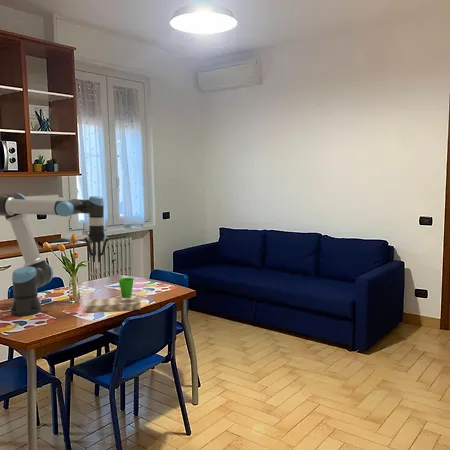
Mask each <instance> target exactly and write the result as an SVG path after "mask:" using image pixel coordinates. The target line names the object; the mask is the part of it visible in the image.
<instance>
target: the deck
mask: <svg viewBox="0 0 450 450" xmlns="http://www.w3.org/2000/svg"><path fill="white" fill-rule="evenodd" d="M125 302H128V303H125ZM141 307H142V306H141V296H139V297H137V296H136V297H131V298H122V297H120V298H118V297H116V298H98V299H88V301H87V305H86V312H87V313H101V312H115V311H116V312H119V311H120V310H122V311H134V310H135V311H138V310H141Z"/></svg>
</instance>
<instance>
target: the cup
mask: <svg viewBox="0 0 450 450" xmlns="http://www.w3.org/2000/svg"><path fill="white" fill-rule="evenodd" d="M134 280H135V278H133V277H122V278H119V279H118V283H119V287H120V288H119V289H120V293H121V298H132V293H133V286H134Z"/></svg>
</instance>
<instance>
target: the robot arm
mask: <svg viewBox="0 0 450 450" xmlns="http://www.w3.org/2000/svg"><path fill="white" fill-rule="evenodd" d="M104 202H105V201H104V197H103V196H99V195H92V196H88V199H79V198H78V199H77V198H70V199H68V200H45V199H44V200H43V199H27V198H26V196H25V195H23V194H22V193H18V192H10V193H2V194H1V193H0V216H1V217H4V218H5V220H6V221H7V222H10V225H11V228H12V231H13V233H14V236H15V239H16V241H17V245H18V247H19V250H20V252H21V256H22V257H23V260H24V265H23V266H22V267H18V268H16V269H14V270H13V272H12V275H11V276H12V277H11V279H12V291H13V295H12V296H13V300H12V304H11V307H10V314H11V316H16V317H28V316H32V315H36V314H38V313H41V312H42V305H41V301H40V300H39V297H38V289H39V288H41V287H43V286H46V285H47V284H49V283H50V282H51V281H52V279H53V277H54V270H53V268H52V266H51V265H50V264H48V263H47V262H46V261H47V260H46V259H44V258H42V257H41V254H40V252H39V249H38V245H37V243H36V241H35V237H34V235H33V231H32V228H31V227H30V224H29V221H28V218H27V217H28V215H41V216H60V217H69V216H72V215H78V214H86V215H88V219H89V222H88V223H89V227H88V231H89V232H88V236H86V237H84V241H85V242H86V246H87V250H88V254H89V256H92V262H93V263H94V268H95V269H99V263H100V262H101V257H102V256H104V255H105V250H106V248H107V242H108V241H109V237H107V236H106V234H105V232H104V231H105V226H104V224H105V222H104V221H105V220H104V219H105V215H104V211H105V204H104ZM89 240H91V242H92V246H91V244H90V243H91V242H90V241H89ZM102 241H104V243H103V246H102V248H101V242H102ZM96 243H97V247H96ZM96 248H97V249H96ZM96 250H97V252H96ZM96 253H97V254H96Z"/></svg>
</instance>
